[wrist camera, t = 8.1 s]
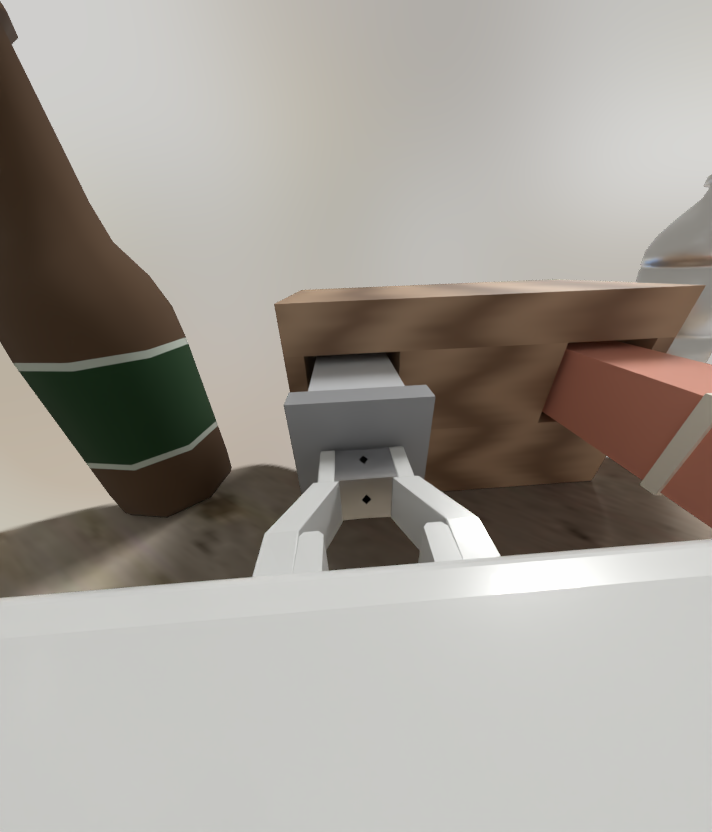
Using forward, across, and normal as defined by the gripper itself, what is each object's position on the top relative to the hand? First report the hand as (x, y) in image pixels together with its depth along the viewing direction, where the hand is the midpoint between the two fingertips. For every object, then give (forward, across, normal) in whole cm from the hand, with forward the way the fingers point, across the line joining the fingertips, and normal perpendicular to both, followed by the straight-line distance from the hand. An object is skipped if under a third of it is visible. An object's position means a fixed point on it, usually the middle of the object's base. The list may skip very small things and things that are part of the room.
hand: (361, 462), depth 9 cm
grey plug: (+8, 0, +2) cm, 8 cm away
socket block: (+10, -7, +8) cm, 15 cm away
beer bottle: (+8, +14, +8) cm, 18 cm away
